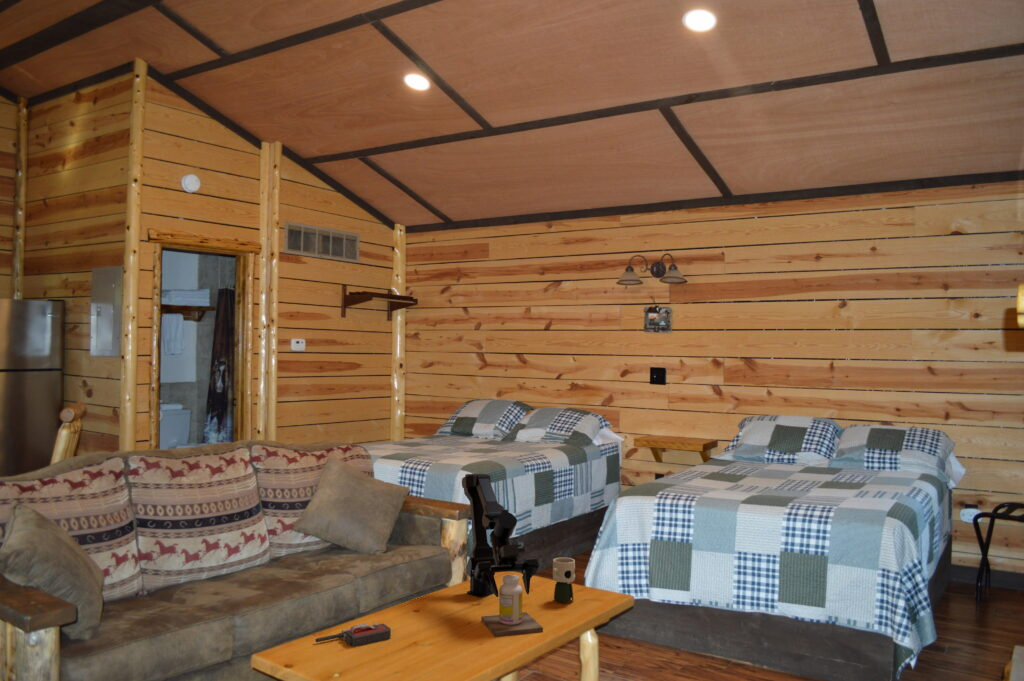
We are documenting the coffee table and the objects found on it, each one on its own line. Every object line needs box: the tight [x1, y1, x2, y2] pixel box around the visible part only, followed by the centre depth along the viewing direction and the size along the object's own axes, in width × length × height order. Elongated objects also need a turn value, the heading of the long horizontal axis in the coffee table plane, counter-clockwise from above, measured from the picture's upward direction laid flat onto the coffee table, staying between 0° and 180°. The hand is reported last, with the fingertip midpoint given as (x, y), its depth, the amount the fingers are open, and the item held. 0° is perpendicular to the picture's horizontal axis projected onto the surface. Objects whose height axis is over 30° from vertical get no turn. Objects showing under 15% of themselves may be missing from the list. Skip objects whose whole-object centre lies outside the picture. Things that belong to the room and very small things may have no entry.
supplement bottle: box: [498, 574, 523, 625], centre depth 230 cm, size 7×7×13 cm
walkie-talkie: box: [314, 622, 392, 648], centre depth 217 cm, size 9×4×20 cm
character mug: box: [552, 556, 576, 603], centre depth 254 cm, size 11×7×13 cm, turn 140°
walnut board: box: [480, 611, 544, 638], centre depth 229 cm, size 14×14×1 cm
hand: (513, 595), depth 229 cm, fingers open, 9 cm apart
